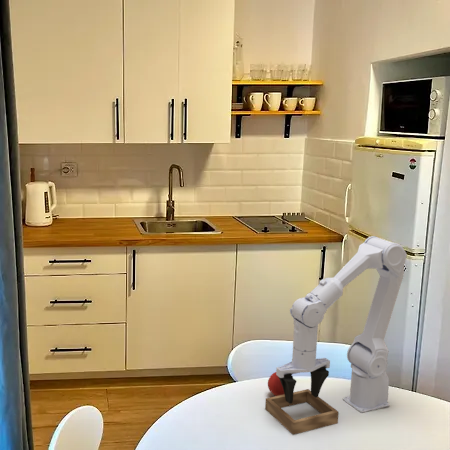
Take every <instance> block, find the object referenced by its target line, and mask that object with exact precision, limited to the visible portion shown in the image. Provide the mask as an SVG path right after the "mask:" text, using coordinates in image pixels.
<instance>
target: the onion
mask: <svg viewBox="0 0 450 450" xmlns="http://www.w3.org/2000/svg"><path fill="white" fill-rule="evenodd" d="M267 388H268V390H269V391H270V393H272V395H274V397H275V396H279V395H284V390H283V387H282V384H281V382H280V379H279V378H278V376H277V375H276V371H275V372H273V373H272V374H271V375H270V376H269V378H268V380H267Z"/></svg>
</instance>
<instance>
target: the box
mask: <svg viewBox="0 0 450 450" xmlns="http://www.w3.org/2000/svg"><path fill="white" fill-rule="evenodd" d="M304 403H307V404H308V405H310V406H311V407H313V408H314V409H315V410H316V411H318V412H319V413H318V414H315V415H310V416H306V417H302V418H299V419H295V418H293V417H292V415H290V414H289V413H287V411H285V410H284V409H283V408H286V407H291V406H295V405H300V404H304ZM264 407H265V409H264V410H266V412H267V413H268V414H270V415H271V416H272V417H273V418H274V419H275V420H276V421H278V422H279V424H280V425H282V426H283V427H284V428H285V429H286V430H287V431H288V432H289V433H291V435H292V436H293V435H297V434H301V433H305V432H308V431H313V430H317V429H321V428H325V427H328V426H332V425H335V424H338V423H339V415H340V414H339V411H338V410H337V409H336V408H334V407H333V406H331V405H330V404H329V403H327V402H326V401H325V400H323V398H321V397H319V396H318V397H317V398H316V397H314V396H313V395H312V394H311V389H310V388H308V389H302V390H297V391H294V392H293V402H292V403H291V404H289V403H288V402H287V401H286V400H285V394H284V395H279V396H275V395H274V396H272V397H267V398H265V406H264Z"/></svg>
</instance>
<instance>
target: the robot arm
mask: <svg viewBox="0 0 450 450" xmlns="http://www.w3.org/2000/svg"><path fill="white" fill-rule="evenodd" d="M407 256H408V254H407V252H406V251H405V249H404V247H403V246H402V245H401V244H399V243H397V242H393V241H389V240H386V239H385V238H380V237H378V236H376V235H372V236H369V237H367V238H366V239H365V241H364V242H363V243H361V244H359V245H358V249H357V252H356V253H355V254H354V255H353V256H352V257H351V259H350V260H349V261H347V262H346V263H345V265H344V266H343V267H342V268H340V270H339V271H338V272H337V273H336V274H335V275H334V276H333V277H325V278H322V279H321V280H320V281H319V284H318V285H317V286H315V288H313V289H312V290H311V291H310V292H309V293H307V294H306V295H305V296H304V297H300V298H297V299H296V300H295V301H294V302H293V303H292V306H291V308H289V314H290V316H291V318H292V319H293V340H292V356H291V357H292V359H291V361H290V362H288V363H285V364H283V365H281V366H278V367H275V368H276V370H275V372H276V375H277V376H278V378H279V379H280V382H281V384H282V387H283V390H284V394H285V400H286V401H287V402H288V403H289V404H291V403H292V402H293V392H295V391H294V390H295V386H296V384H297V380H296V379H295V378H294V376H293V375H296V374H300V373H310V391H311V394H312V395H313V396H314V397H316V398H317V397H319V394H320V392H321V389H322V386H323V384H324V382H325V381H326V380H327V378H328V377H329V375H330V371H329V370H327V369H330V367H331V360H329V359H328V358H326V357H321V358H317V346H318V345H317V344H318V332H319V331H318V330H319V328H318V327H319V325H320V324H321V323H322V322H323V320H324V316H325V314H326V313H327V311H328V309H329V308H330V307H331V306H333V304H335V302H337V301H338V300H339V299H340V298H341V297H342V296H343V293H344V292H343V291H344V288H345V287H346V286H347V285H348V284H351V282H352V281H354V280H356V278H357V277H358V276H360V275H361V274H363V273H364V272H365V271H366V270H370V269H371V270H372V269H373V270H374V269H376V271H377V272H378V274H379V278H378V281H377V285H376V288H375V291H374V295H373V298H372V301H371V305H370V308H369V311H368V314H367V317H366V321H365V325H364V327H363V331H362V333H359V334H358V335H356V336H355V337H354V338H353V342H352V343H351V345H350V346H349V348H348V349H347V353H346V357H347V360H348V362H349V363H350V368H351V375H350V376H351V380H350V391H349V395H348V396H345V397H342V400H343V402H345V403H347V404H348V405H350V406H351V407H352V408H353V409H355V410H356V411H358V412H359V413H362V414H363V413H367V412H372V411H375V410H378V409H382V408H383V409H384V408H387V407H389V406H390V403H389V402H388V398H389V387H390V378H389V376H388V374H387V368H388V364H389V362H388V357H389V352H390V351H389V348H388V346H387V345H386V342H385V337H386V334H387V330H388V327H389V325H390V320H391V318H392V315H393V311H394V308H395V304H396V301H397V298H398V296H399V292H400V289H401V284H402V283H403V282H402V281H403V279H404V276H405V269H404V268H405V263H406V259H407Z"/></svg>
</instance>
